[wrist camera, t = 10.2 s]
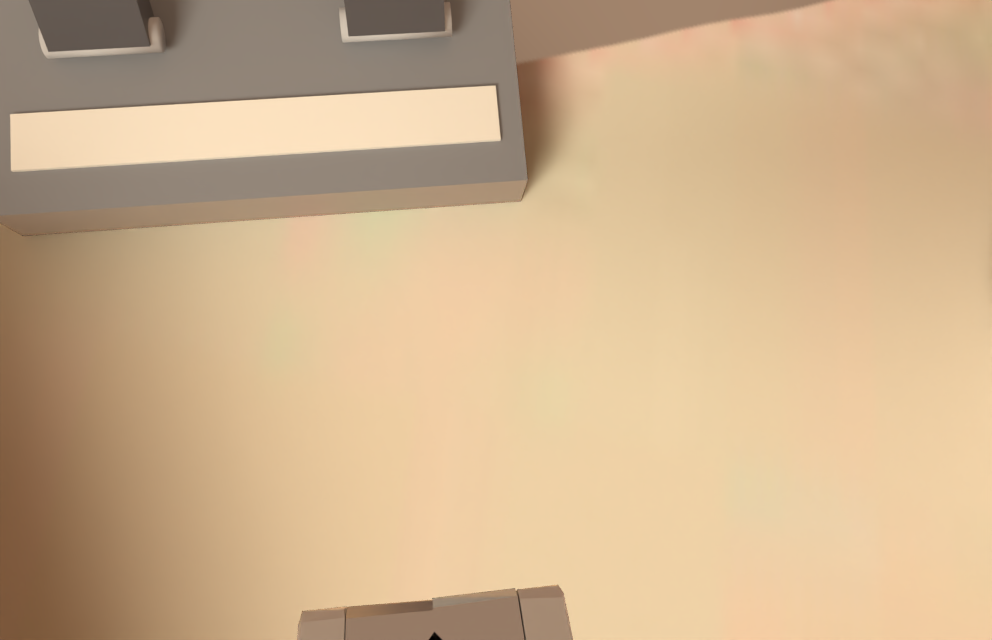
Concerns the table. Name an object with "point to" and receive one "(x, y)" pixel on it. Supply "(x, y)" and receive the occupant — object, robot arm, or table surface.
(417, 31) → the lever
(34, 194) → the breaker panel
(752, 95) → the table surface
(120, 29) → the lever
